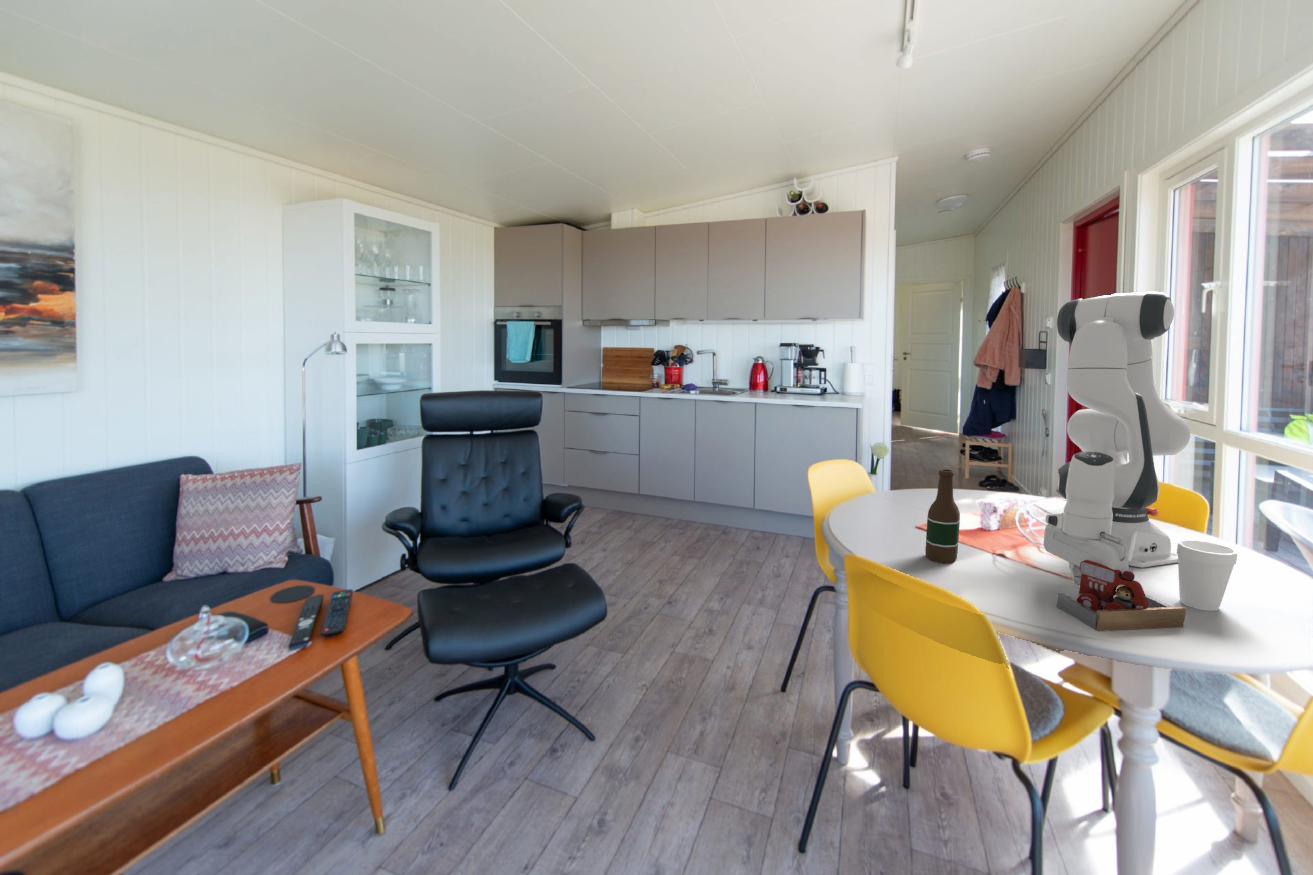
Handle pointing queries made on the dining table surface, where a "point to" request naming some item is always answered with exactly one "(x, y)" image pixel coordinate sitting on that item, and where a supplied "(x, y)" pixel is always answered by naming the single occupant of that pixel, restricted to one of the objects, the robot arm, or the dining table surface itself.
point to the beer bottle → (943, 522)
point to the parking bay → (1125, 615)
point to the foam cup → (1204, 573)
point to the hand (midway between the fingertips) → (1080, 584)
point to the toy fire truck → (1109, 588)
